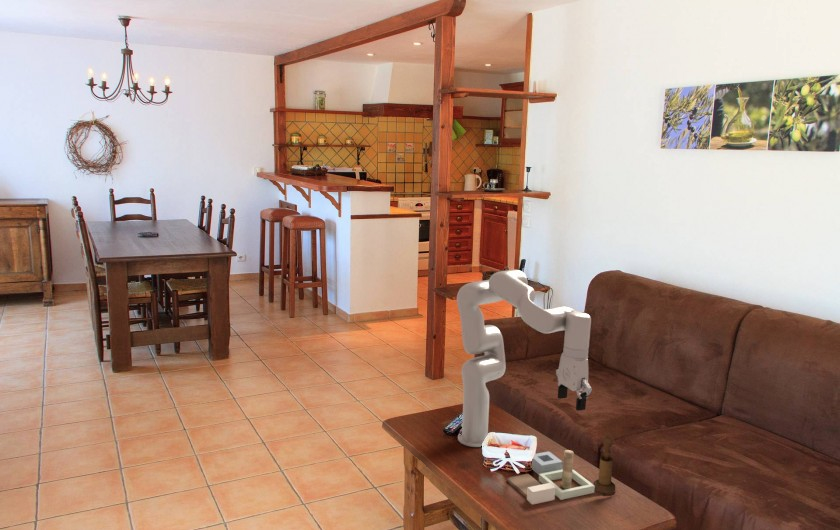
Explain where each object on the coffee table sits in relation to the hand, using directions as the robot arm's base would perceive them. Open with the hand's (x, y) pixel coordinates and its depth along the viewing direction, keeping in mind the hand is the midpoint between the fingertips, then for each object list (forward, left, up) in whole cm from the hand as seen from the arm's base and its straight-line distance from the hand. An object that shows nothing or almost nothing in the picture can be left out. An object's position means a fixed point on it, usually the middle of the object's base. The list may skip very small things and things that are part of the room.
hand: (571, 403), depth 201 cm
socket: (-10, -2, -28) cm, 29 cm away
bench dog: (+6, -14, -28) cm, 31 cm away
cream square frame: (+2, -2, -28) cm, 28 cm away
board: (-1, -13, -28) cm, 31 cm away
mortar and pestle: (+7, +9, -28) cm, 30 cm away
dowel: (+2, -1, -27) cm, 27 cm away
